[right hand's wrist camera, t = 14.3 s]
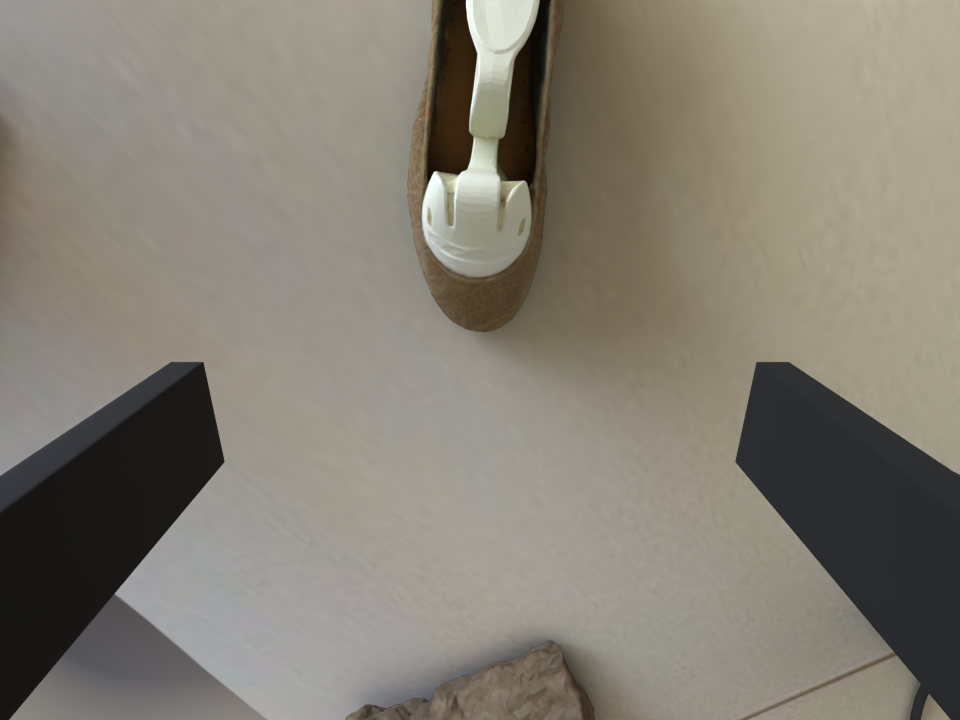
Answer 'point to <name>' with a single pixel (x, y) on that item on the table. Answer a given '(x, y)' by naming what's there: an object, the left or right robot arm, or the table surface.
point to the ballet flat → (483, 155)
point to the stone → (500, 693)
